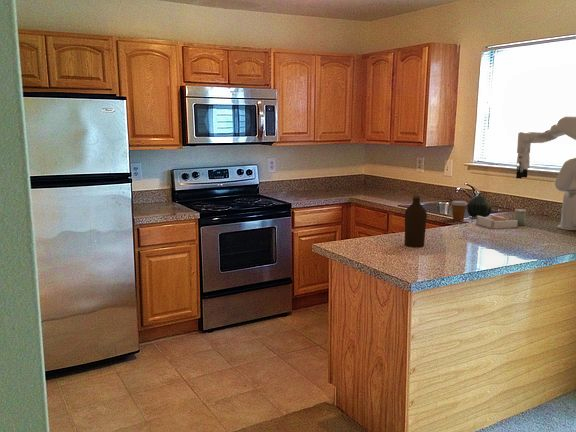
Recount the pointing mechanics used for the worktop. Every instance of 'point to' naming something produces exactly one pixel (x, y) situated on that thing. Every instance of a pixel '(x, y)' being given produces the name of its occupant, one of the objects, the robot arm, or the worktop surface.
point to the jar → (520, 216)
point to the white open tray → (495, 222)
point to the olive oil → (415, 223)
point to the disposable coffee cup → (458, 210)
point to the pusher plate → (498, 218)
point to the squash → (479, 207)
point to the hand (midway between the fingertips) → (521, 177)
